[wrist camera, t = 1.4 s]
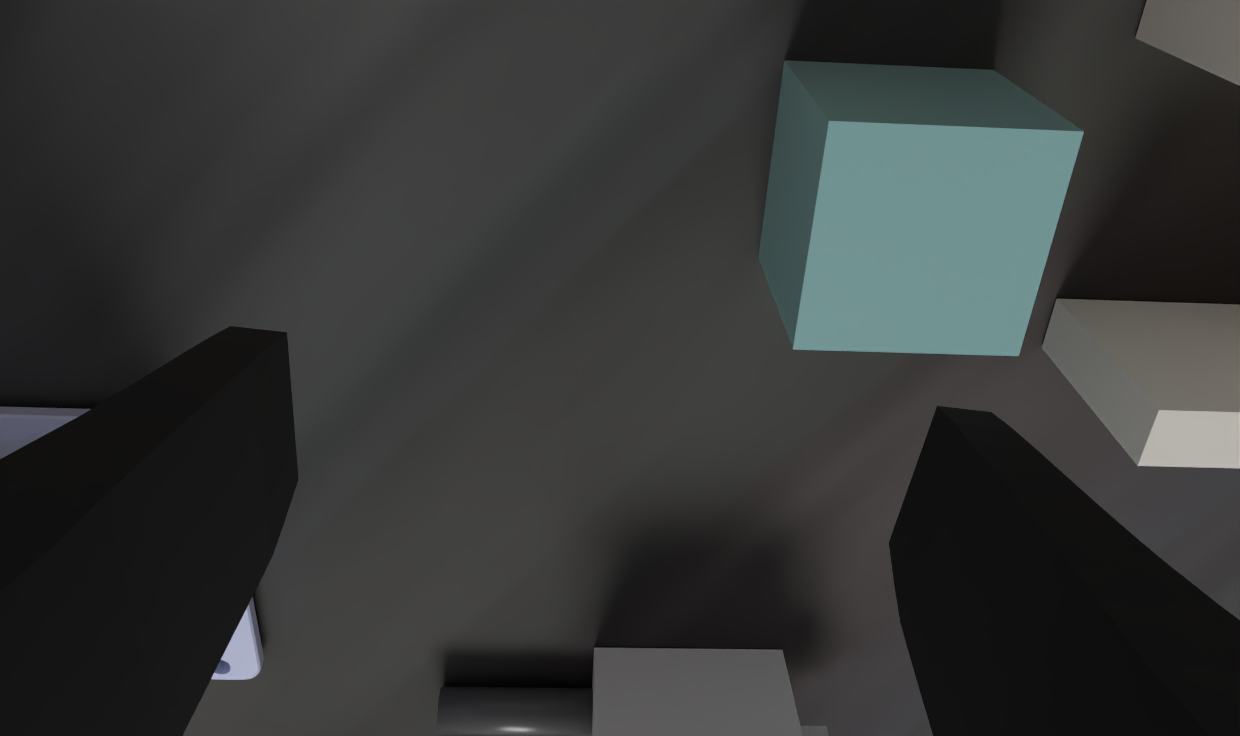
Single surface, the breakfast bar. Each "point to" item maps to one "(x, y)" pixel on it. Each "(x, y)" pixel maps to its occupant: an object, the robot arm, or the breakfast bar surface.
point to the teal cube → (911, 207)
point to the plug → (641, 698)
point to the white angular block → (1163, 310)
